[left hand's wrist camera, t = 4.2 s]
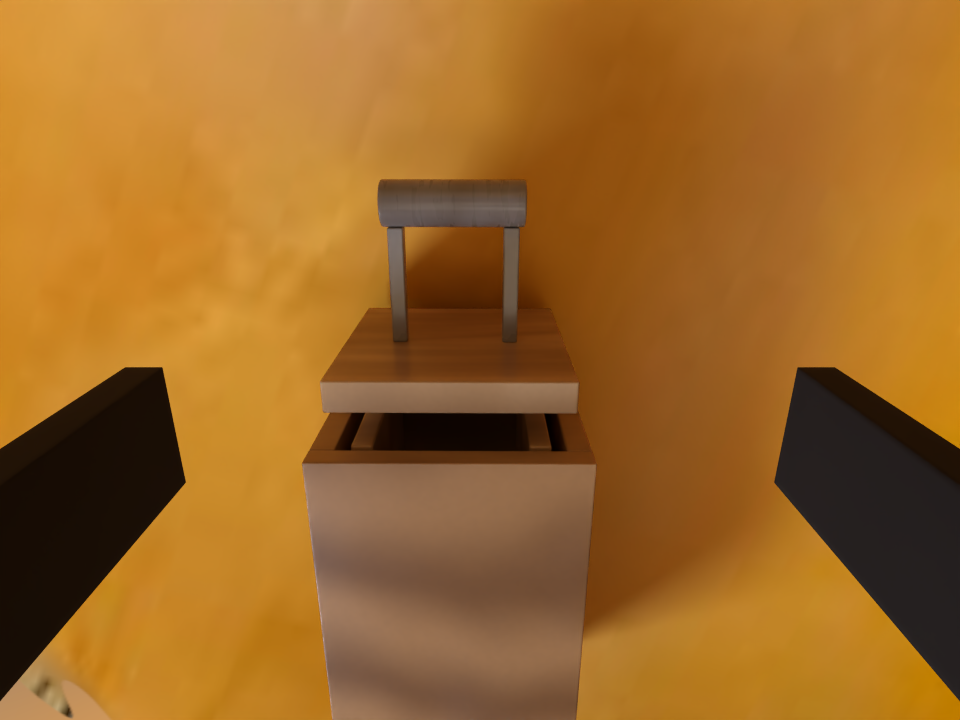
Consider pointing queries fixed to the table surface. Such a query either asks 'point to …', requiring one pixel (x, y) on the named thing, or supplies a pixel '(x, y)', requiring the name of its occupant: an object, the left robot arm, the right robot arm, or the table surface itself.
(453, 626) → the cabinet
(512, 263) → the drawer
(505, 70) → the table surface
